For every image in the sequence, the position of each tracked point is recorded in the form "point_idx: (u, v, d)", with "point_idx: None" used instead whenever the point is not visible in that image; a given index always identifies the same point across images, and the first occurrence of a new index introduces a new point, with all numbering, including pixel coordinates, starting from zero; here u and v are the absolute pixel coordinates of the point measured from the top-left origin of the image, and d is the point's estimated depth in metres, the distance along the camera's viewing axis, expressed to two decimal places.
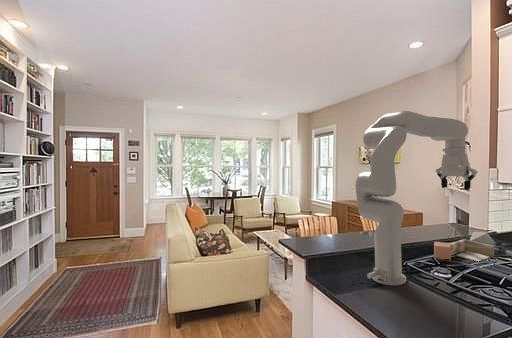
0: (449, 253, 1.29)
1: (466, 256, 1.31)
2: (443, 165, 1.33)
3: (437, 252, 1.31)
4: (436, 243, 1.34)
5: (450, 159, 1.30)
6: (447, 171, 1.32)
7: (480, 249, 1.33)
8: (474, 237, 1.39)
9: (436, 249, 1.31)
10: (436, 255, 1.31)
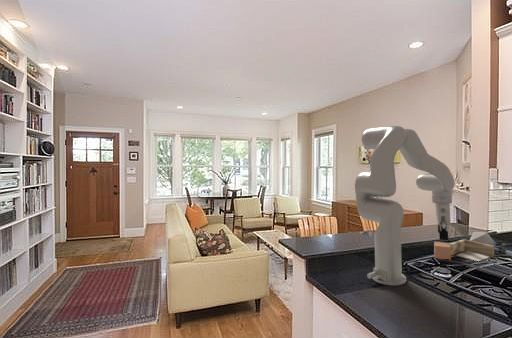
0: (449, 253, 1.29)
1: (466, 256, 1.31)
2: None
3: (437, 252, 1.31)
4: (436, 243, 1.34)
5: None
6: None
7: (480, 249, 1.33)
8: (474, 237, 1.39)
9: (436, 249, 1.31)
10: (436, 255, 1.31)
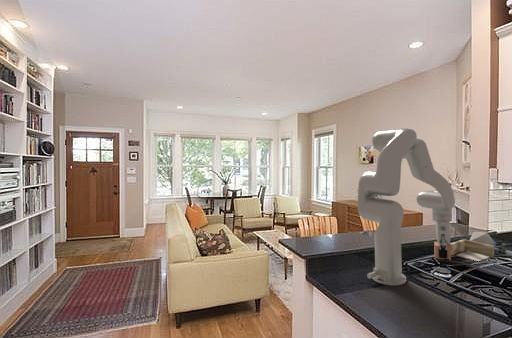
0: (449, 253, 1.29)
1: (466, 256, 1.31)
2: None
3: (437, 252, 1.31)
4: (436, 243, 1.34)
5: None
6: None
7: (480, 249, 1.33)
8: (474, 237, 1.39)
9: (436, 249, 1.31)
10: (436, 255, 1.31)
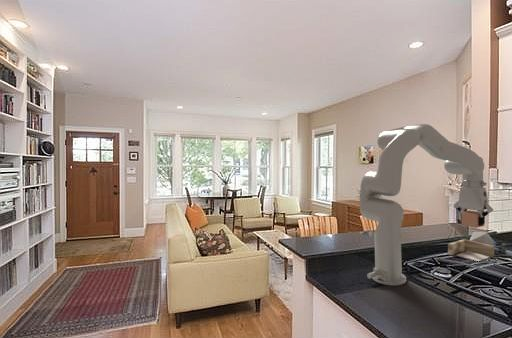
0: None
1: (466, 256, 1.31)
2: None
3: (477, 220, 1.27)
4: (468, 212, 1.30)
5: None
6: None
7: (480, 249, 1.33)
8: (474, 237, 1.39)
9: (477, 218, 1.26)
10: (477, 224, 1.27)
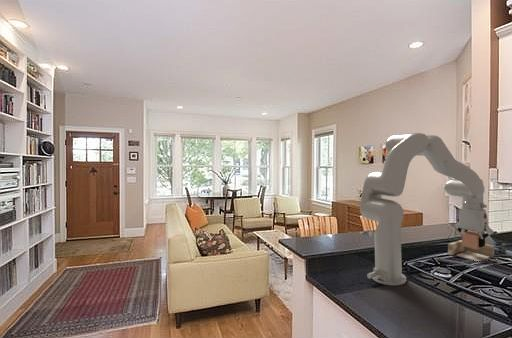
0: None
1: (466, 256, 1.31)
2: None
3: (478, 242, 1.27)
4: (468, 233, 1.30)
5: None
6: None
7: (480, 249, 1.33)
8: None
9: (477, 239, 1.27)
10: (477, 245, 1.27)
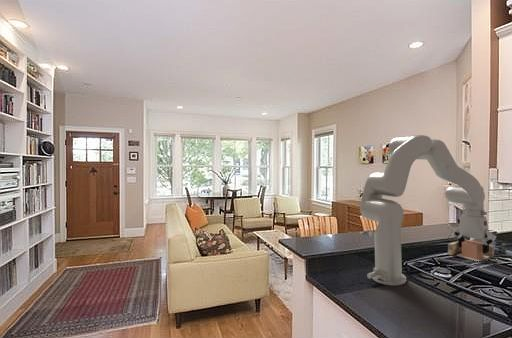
0: None
1: (466, 256, 1.31)
2: None
3: (477, 252, 1.28)
4: (468, 243, 1.31)
5: None
6: None
7: None
8: None
9: (477, 249, 1.27)
10: (477, 255, 1.28)
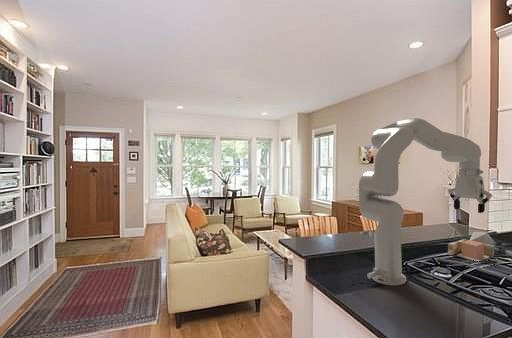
0: (483, 249, 1.30)
1: (466, 256, 1.31)
2: None
3: (477, 252, 1.28)
4: (468, 243, 1.31)
5: None
6: None
7: None
8: (474, 237, 1.39)
9: (477, 249, 1.27)
10: (477, 255, 1.28)
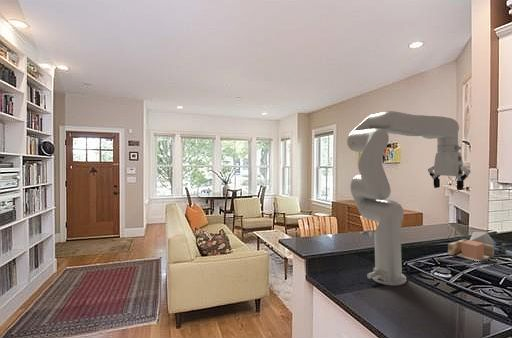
0: (483, 249, 1.30)
1: (466, 256, 1.31)
2: None
3: (477, 252, 1.28)
4: (468, 243, 1.31)
5: None
6: None
7: None
8: (474, 237, 1.39)
9: (477, 249, 1.27)
10: (477, 255, 1.28)
